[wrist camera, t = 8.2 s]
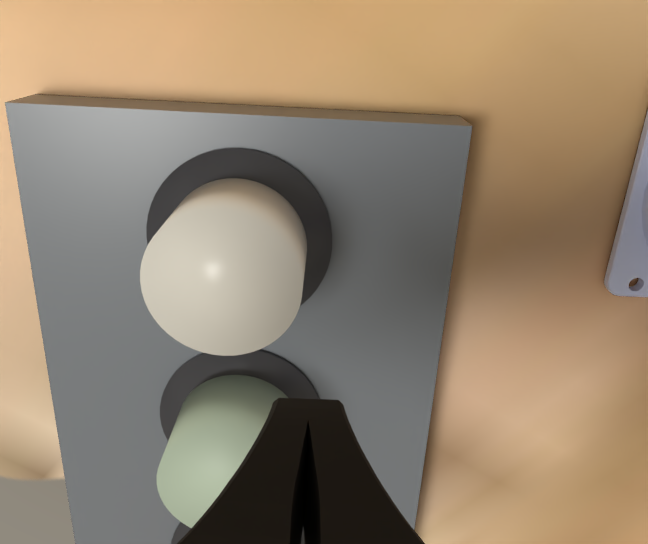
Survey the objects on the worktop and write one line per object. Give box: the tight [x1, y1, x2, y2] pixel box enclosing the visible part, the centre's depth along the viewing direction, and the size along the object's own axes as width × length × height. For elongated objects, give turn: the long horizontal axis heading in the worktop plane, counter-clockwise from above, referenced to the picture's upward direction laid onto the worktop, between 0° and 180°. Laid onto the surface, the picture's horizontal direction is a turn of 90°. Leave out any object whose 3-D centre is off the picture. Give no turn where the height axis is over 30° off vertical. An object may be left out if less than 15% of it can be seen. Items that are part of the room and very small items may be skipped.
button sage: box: [157, 375, 288, 528], centre depth 20 cm, size 4×4×3 cm
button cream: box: [140, 178, 307, 356], centre depth 18 cm, size 4×4×3 cm
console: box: [5, 94, 472, 544], centre depth 23 cm, size 14×22×2 cm, turn 177°
